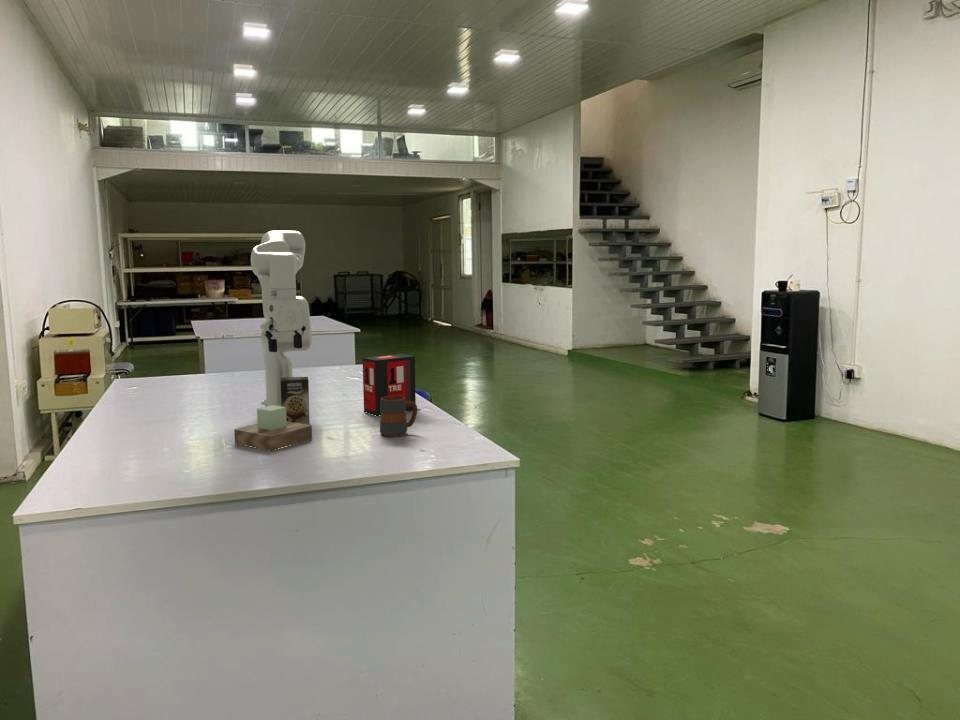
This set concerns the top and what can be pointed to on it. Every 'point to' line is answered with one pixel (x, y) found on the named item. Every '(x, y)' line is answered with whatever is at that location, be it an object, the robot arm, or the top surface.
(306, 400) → the coffee box
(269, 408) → the sage cube
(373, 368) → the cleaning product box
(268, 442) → the walnut block
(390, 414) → the mug
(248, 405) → the top surface
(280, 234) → the robot arm
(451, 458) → the top surface
